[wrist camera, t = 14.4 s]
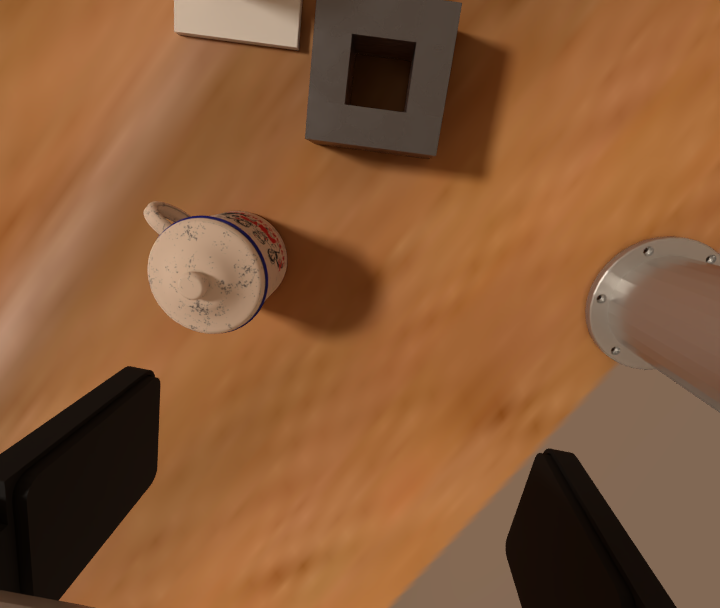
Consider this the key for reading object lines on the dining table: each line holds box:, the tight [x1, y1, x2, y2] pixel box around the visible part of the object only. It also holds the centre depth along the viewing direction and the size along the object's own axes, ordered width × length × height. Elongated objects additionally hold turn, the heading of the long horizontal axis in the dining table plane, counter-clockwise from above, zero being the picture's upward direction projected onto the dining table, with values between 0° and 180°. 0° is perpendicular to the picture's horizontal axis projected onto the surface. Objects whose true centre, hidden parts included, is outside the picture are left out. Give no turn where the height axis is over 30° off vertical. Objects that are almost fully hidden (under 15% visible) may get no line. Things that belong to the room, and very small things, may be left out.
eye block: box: [305, 0, 462, 159], centre depth 33 cm, size 10×10×5 cm
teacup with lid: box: [144, 202, 287, 334], centre depth 34 cm, size 12×9×12 cm
